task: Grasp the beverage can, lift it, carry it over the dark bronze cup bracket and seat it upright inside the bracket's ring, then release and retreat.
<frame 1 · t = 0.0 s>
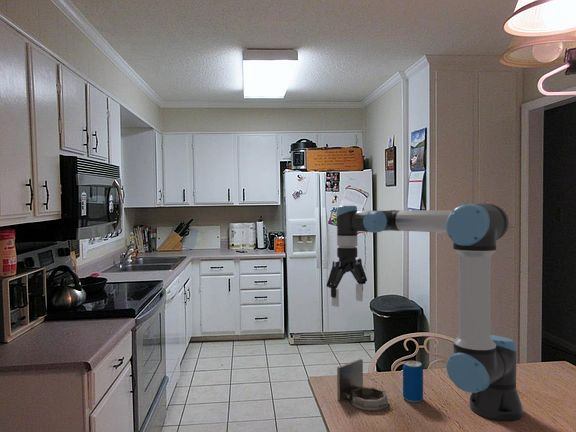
hand: (347, 303, 169), 28 cm above the table, fingers open, 13 cm apart
beverage can: (412, 399, 150), on the table
cup bracket: (369, 402, 148), on the table
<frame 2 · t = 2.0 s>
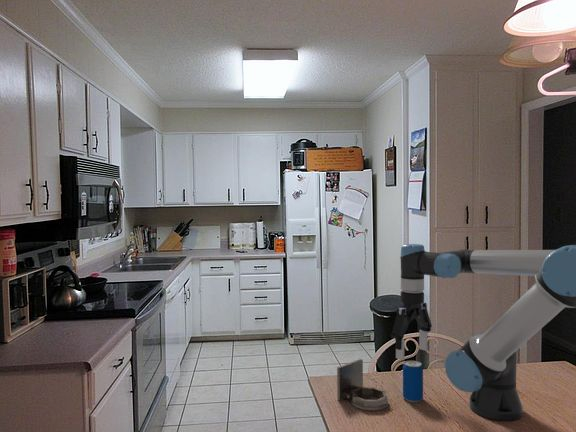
hand: (412, 354, 150), 15 cm above the table, fingers open, 13 cm apart
nothing on the table moved.
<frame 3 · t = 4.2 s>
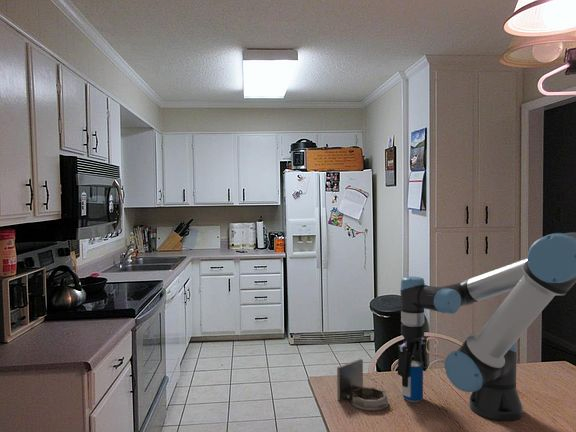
hand: (412, 392, 150), 2 cm above the table, fingers closed on beverage can, 6 cm apart
beverage can: (412, 399, 150), on the table, touching gripper
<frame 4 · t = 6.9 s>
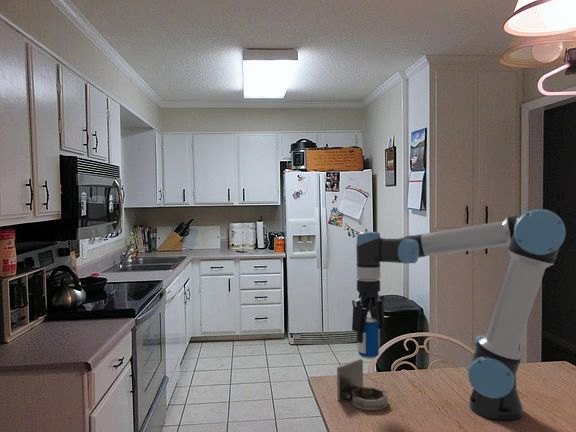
hand: (368, 349, 147), 18 cm above the table, fingers closed on beverage can, 6 cm apart
beverage can: (368, 356, 147), point 15 cm above the table, touching gripper
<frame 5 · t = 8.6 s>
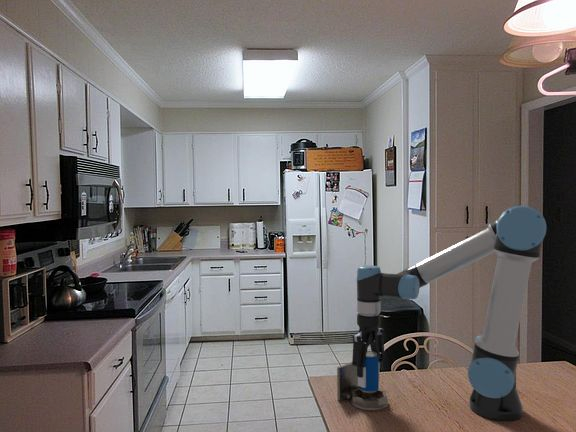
hand: (368, 383, 148), 6 cm above the table, fingers closed on beverage can, 6 cm apart
beverage can: (368, 390, 148), point 4 cm above the table, touching gripper
when the fingers open (5 cm above the table, at t = 9.8 s): beverage can drops 2 cm, resting on cup bracket.
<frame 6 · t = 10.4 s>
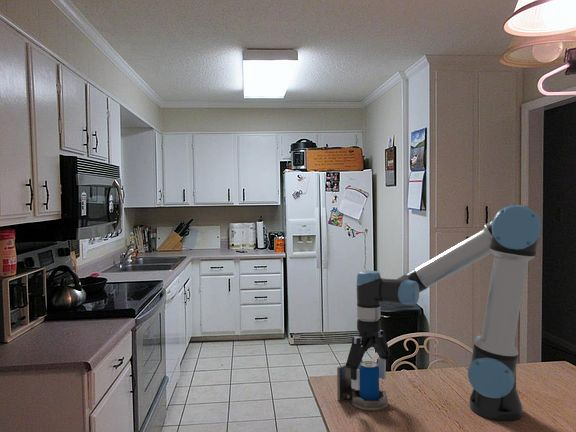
hand: (369, 383, 148), 6 cm above the table, fingers open, 13 cm apart
beverage can: (369, 401, 148), point 1 cm above the table, touching cup bracket
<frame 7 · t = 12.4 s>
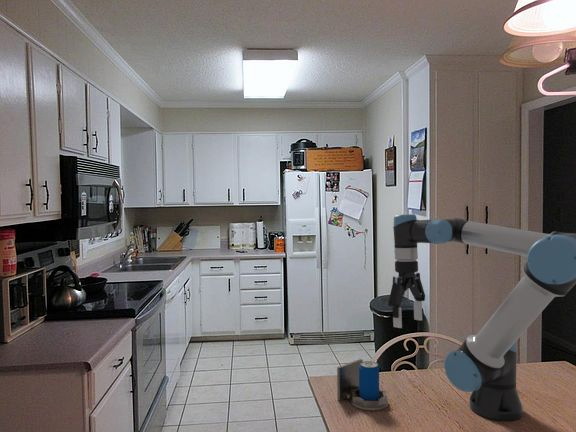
hand: (408, 323, 152), 25 cm above the table, fingers open, 13 cm apart
nothing on the table moved.
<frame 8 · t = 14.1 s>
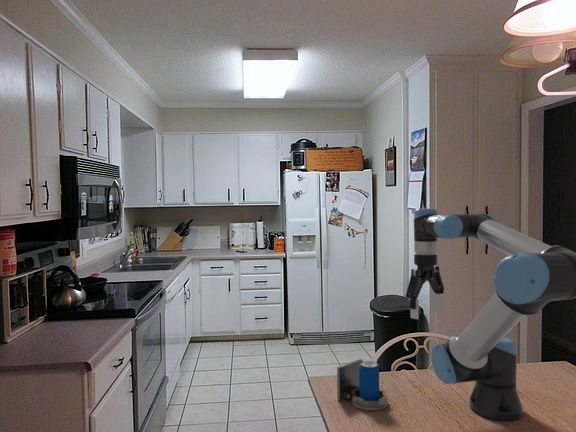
hand: (425, 315, 155), 27 cm above the table, fingers open, 13 cm apart
nothing on the table moved.
at the end: beverage can 0.0 cm off-centre on the cup bracket, point 0.6 cm above the cup bracket's base; beverage can tilted 0°; the gripper is holding nothing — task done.
